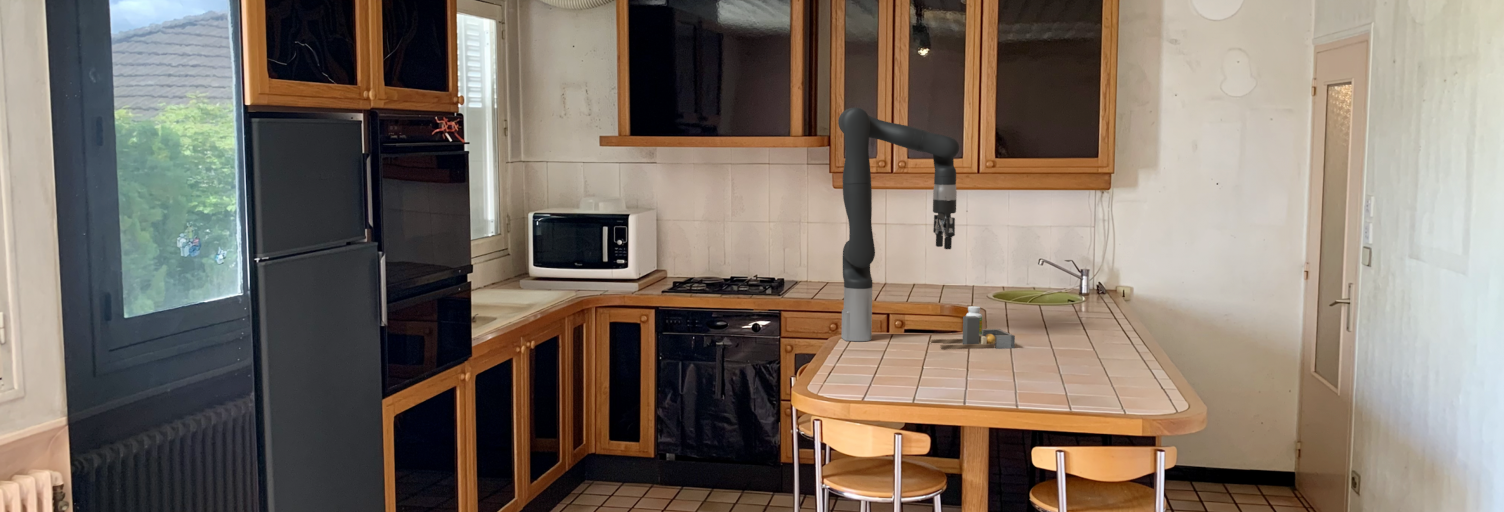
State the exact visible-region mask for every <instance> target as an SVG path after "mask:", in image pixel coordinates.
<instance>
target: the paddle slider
mask: <svg viewBox="0 0 1504 512" xmlns="http://www.w3.org/2000/svg"><path fill="white" fill-rule="evenodd" d="M979 322H980V318H978V317H976V316H966V315H965V316H963V317H962V339H963V343H962V344H987V337H985V336H983V335H981V334H979Z"/></svg>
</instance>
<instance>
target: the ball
mask: <svg viewBox="0 0 1504 512" xmlns="http://www.w3.org/2000/svg"><path fill="white" fill-rule="evenodd" d="M985 337H987V344H995V336H994V335H992V334H987V335H986V336H985Z"/></svg>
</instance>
